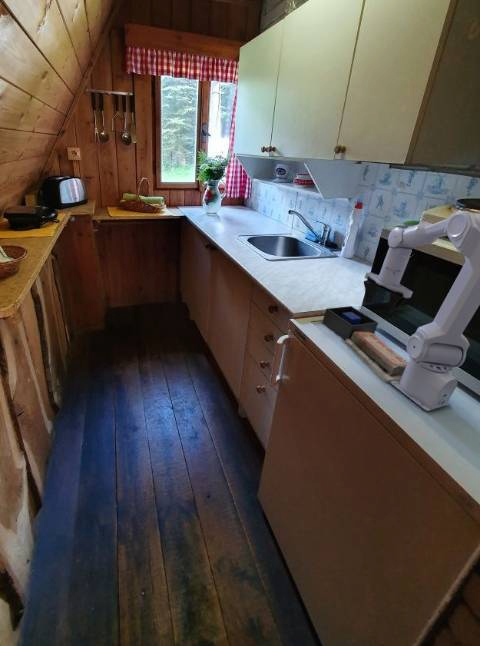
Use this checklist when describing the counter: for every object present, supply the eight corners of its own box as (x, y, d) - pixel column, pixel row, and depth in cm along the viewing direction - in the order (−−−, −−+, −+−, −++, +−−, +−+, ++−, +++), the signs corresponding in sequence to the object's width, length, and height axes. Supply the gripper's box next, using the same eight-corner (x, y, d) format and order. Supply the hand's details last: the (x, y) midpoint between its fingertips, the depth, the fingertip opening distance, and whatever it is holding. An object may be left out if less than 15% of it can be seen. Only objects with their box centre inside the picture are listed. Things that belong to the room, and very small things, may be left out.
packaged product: (347, 329, 93) (376, 329, 94) (342, 342, 94) (370, 342, 96) (391, 369, 76) (425, 369, 78) (384, 384, 78) (417, 384, 80)
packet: (356, 331, 100) (361, 318, 98) (347, 332, 98) (352, 319, 96) (347, 324, 103) (351, 311, 101) (338, 326, 102) (342, 312, 100)
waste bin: (372, 337, 98) (378, 322, 96) (347, 341, 94) (352, 326, 92) (346, 319, 108) (351, 305, 106) (322, 322, 104) (326, 308, 102)
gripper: (363, 260, 97) (350, 298, 102) (407, 278, 85) (389, 320, 90) (379, 259, 99) (366, 296, 105) (423, 277, 87) (406, 318, 92)
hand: (378, 307), depth 97 cm, fingers open, 7 cm apart
